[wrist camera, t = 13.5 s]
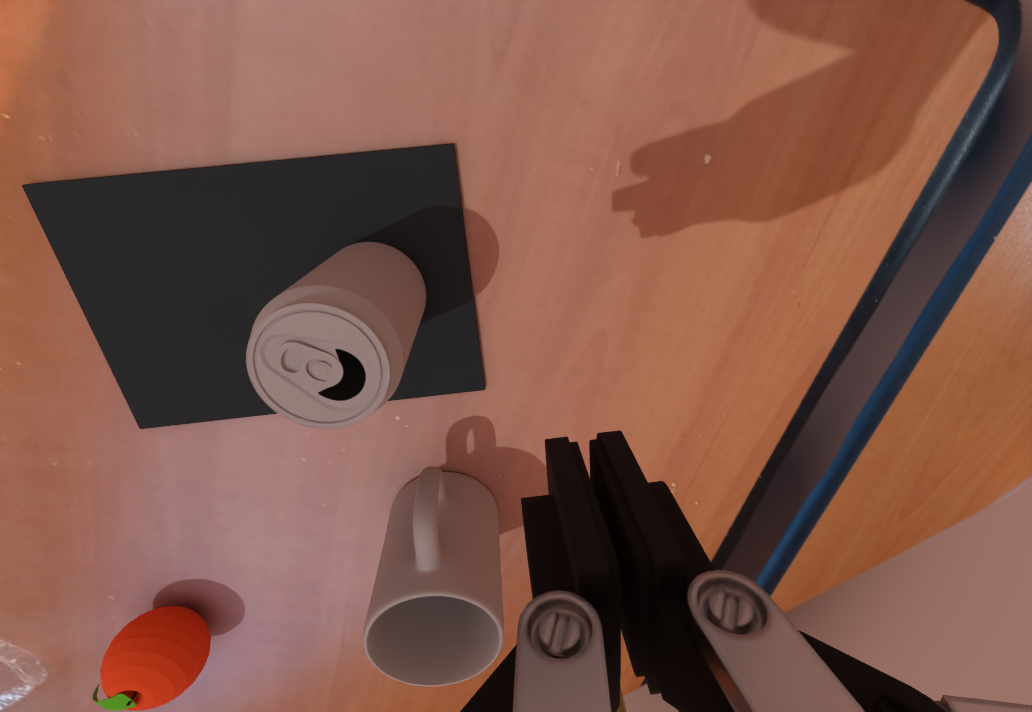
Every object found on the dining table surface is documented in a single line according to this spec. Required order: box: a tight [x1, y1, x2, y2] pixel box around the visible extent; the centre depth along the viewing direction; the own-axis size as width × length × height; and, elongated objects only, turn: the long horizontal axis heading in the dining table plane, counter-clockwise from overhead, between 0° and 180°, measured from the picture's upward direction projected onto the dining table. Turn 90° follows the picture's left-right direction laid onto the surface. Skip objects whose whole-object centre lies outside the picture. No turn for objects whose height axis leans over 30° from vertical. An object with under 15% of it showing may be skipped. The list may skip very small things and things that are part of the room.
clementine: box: [93, 606, 211, 711], centre depth 37 cm, size 8×7×7 cm
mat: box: [22, 144, 485, 429], centre depth 30 cm, size 24×16×1 cm, turn 95°
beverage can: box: [246, 242, 426, 429], centre depth 25 cm, size 6×6×12 cm
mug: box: [363, 467, 504, 687], centre depth 32 cm, size 12×8×11 cm
